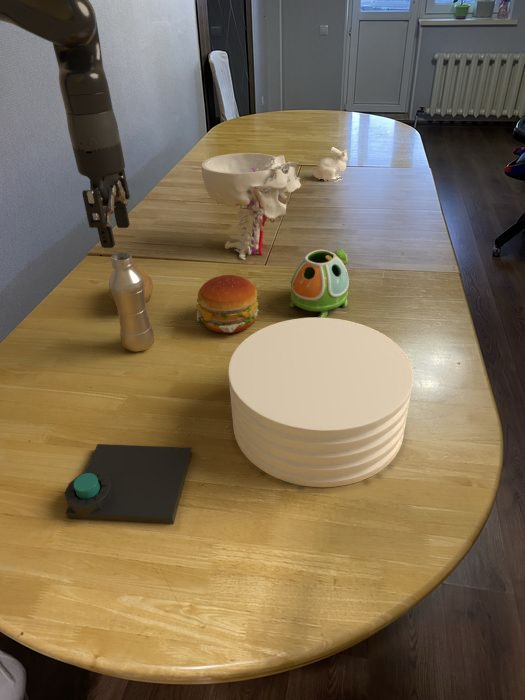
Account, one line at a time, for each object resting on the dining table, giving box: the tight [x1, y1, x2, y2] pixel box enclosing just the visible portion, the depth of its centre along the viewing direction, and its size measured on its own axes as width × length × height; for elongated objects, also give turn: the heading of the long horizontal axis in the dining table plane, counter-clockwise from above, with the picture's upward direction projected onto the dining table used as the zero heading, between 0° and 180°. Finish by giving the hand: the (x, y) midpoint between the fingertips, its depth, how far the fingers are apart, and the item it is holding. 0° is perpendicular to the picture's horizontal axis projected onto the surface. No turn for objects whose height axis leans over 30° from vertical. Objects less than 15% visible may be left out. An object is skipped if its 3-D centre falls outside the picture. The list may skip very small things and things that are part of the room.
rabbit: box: [313, 146, 349, 183], centre depth 184 cm, size 12×9×12 cm
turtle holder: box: [289, 248, 350, 318], centre depth 114 cm, size 12×18×12 cm
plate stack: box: [227, 317, 414, 488], centre depth 83 cm, size 28×28×12 cm
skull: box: [201, 152, 302, 261], centre depth 136 cm, size 25×19×23 cm
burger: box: [196, 274, 260, 334], centre depth 109 cm, size 13×14×10 cm
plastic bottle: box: [108, 251, 155, 352], centre depth 99 cm, size 6×7×20 cm
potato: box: [108, 265, 154, 305], centre depth 117 cm, size 10×14×8 cm
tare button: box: [74, 473, 100, 499], centre depth 72 cm, size 3×3×2 cm
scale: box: [64, 443, 193, 525], centre depth 75 cm, size 16×13×3 cm
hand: (116, 236), depth 91 cm, fingers open, 8 cm apart
